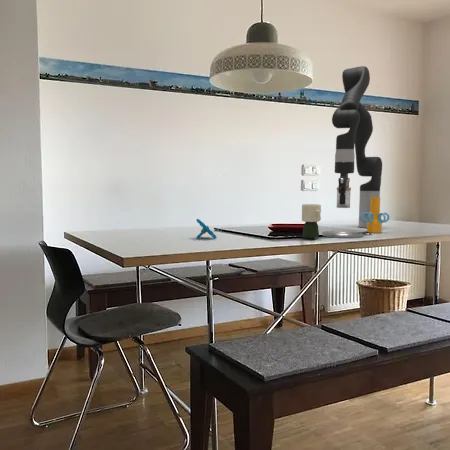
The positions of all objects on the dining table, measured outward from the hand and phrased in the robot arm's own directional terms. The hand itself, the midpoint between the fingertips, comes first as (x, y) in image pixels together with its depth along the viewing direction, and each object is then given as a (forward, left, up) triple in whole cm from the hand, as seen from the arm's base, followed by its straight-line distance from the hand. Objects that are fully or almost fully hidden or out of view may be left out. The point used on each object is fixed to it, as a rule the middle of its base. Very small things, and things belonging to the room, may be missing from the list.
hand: (343, 203), depth 197 cm
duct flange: (0, 0, -13) cm, 13 cm away
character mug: (+15, -10, -13) cm, 22 cm away
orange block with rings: (-19, +11, -13) cm, 26 cm away
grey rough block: (0, 0, -2) cm, 2 cm away
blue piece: (+30, -47, -13) cm, 57 cm away
